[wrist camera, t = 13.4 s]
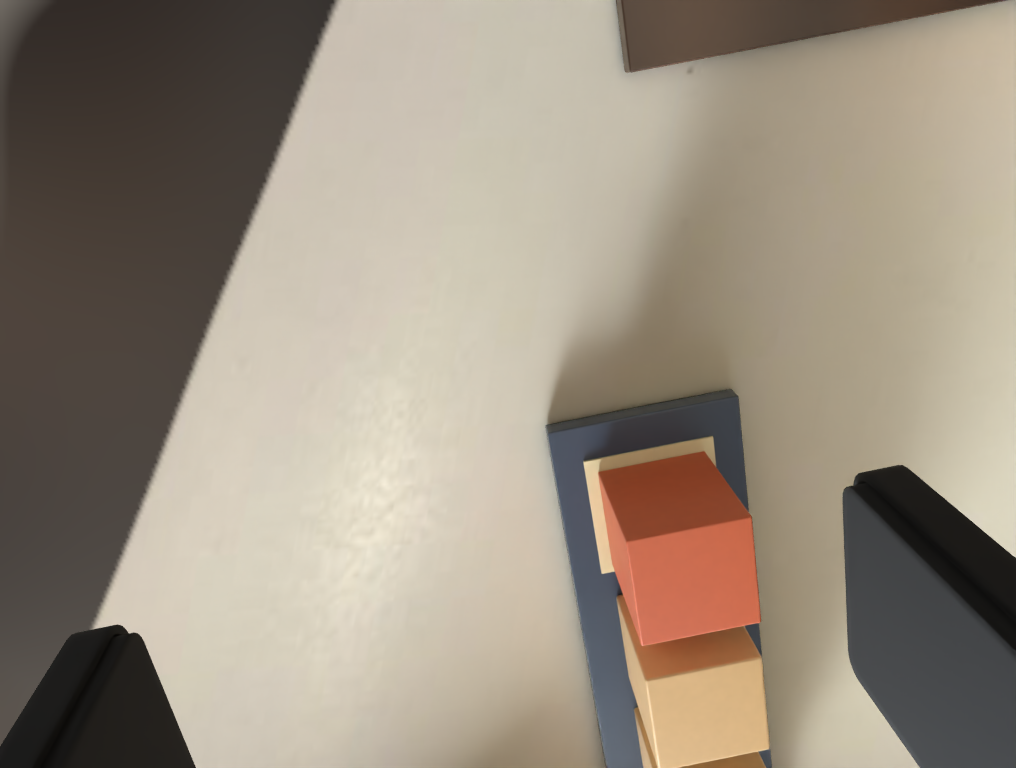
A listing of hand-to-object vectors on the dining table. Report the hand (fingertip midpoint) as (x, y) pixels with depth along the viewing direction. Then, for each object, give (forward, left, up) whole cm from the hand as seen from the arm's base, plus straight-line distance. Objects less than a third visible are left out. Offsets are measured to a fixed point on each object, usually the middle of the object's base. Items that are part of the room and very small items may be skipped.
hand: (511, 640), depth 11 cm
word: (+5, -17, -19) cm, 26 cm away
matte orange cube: (+5, -9, -18) cm, 21 cm away
